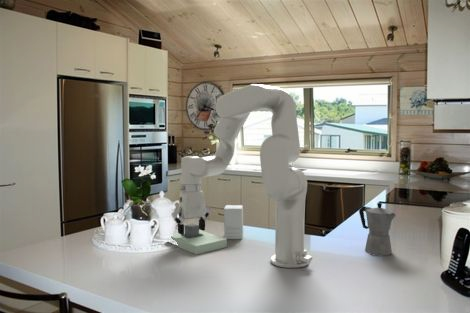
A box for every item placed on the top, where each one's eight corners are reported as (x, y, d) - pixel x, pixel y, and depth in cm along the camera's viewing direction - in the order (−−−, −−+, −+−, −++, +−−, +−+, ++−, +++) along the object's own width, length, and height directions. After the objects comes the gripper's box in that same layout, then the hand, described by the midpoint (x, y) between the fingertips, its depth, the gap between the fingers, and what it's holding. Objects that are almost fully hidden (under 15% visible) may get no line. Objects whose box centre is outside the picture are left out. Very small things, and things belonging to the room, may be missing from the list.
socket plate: (226, 246, 155) (226, 239, 155) (196, 254, 146) (196, 246, 146) (196, 236, 170) (196, 228, 170) (166, 242, 161) (166, 234, 161)
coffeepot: (402, 254, 146) (404, 204, 145) (385, 259, 141) (387, 207, 140) (366, 244, 159) (368, 197, 158) (350, 248, 154) (351, 200, 152)
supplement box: (243, 234, 172) (243, 205, 172) (242, 239, 165) (242, 208, 164) (226, 234, 173) (225, 204, 172) (223, 239, 166) (223, 208, 165)
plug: (199, 243, 160) (199, 225, 160) (191, 245, 158) (191, 227, 157) (191, 240, 163) (191, 223, 163) (184, 242, 161) (184, 225, 160)
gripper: (177, 191, 151) (177, 237, 152) (215, 187, 162) (215, 230, 163) (166, 189, 156) (167, 233, 158) (203, 185, 167) (204, 226, 169)
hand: (191, 231), depth 160 cm, fingers open, 9 cm apart
